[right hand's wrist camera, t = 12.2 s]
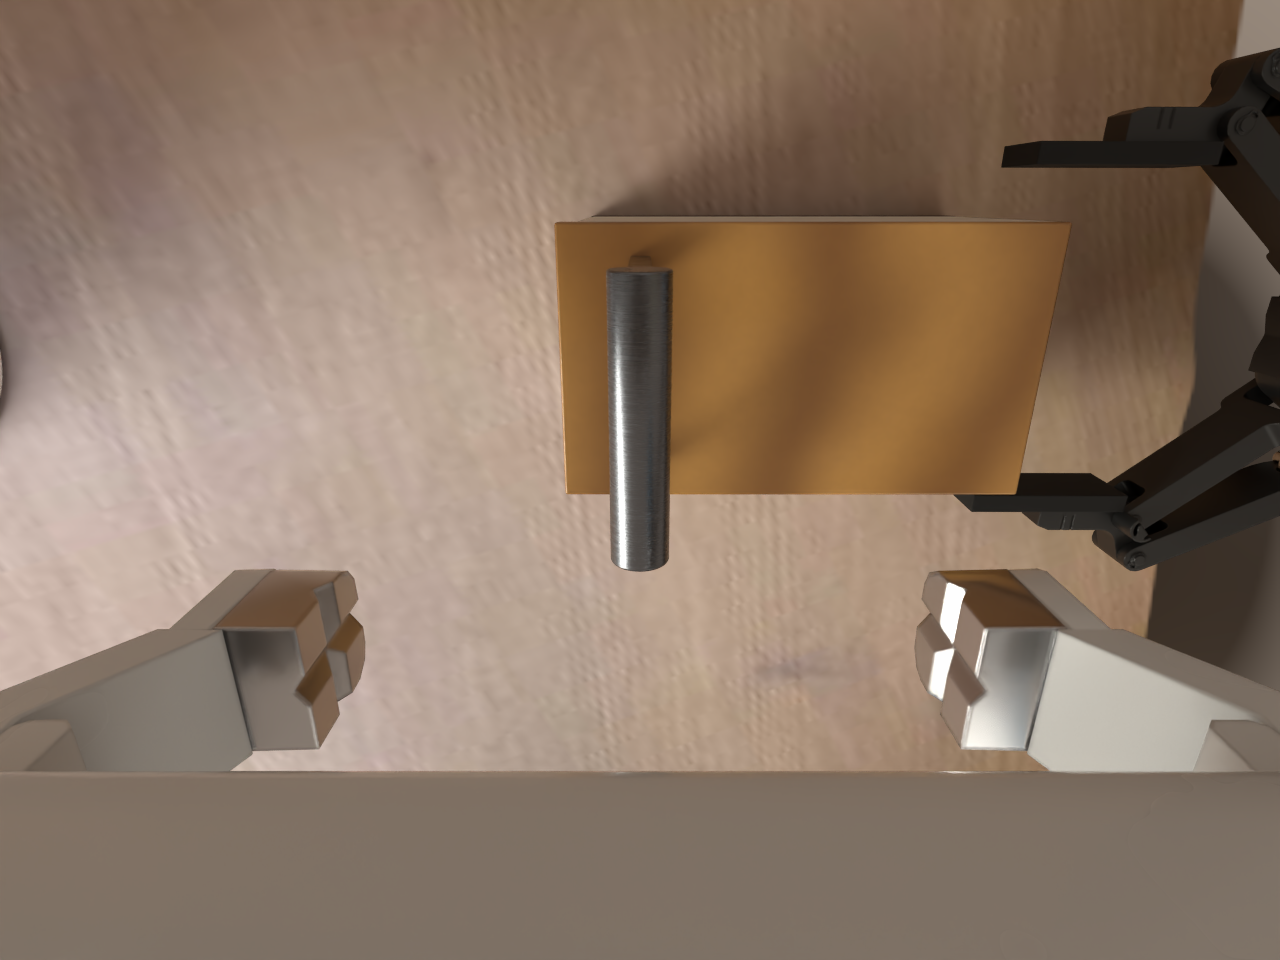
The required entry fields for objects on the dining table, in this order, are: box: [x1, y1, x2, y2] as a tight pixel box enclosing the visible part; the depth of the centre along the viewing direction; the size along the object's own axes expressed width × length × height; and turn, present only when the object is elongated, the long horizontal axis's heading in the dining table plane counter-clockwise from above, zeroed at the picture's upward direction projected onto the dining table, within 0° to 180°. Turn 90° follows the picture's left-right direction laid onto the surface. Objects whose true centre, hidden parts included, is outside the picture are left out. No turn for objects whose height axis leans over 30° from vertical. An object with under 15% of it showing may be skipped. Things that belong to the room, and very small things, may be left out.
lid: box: [554, 222, 1072, 572], centre depth 22 cm, size 17×10×8 cm, turn 90°
